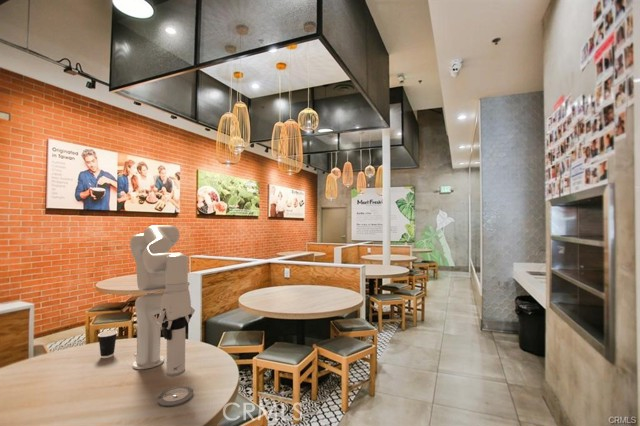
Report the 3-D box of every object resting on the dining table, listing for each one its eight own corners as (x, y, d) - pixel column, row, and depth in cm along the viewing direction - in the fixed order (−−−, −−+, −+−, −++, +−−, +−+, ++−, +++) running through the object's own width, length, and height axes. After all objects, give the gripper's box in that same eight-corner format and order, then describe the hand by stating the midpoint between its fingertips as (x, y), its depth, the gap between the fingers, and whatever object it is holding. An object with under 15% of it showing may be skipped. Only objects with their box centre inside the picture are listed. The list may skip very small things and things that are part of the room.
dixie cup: (93, 360, 146) (94, 336, 147) (102, 353, 154) (102, 331, 155) (112, 358, 148) (112, 335, 148) (120, 352, 156) (120, 330, 156)
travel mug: (178, 377, 111) (179, 321, 111) (162, 376, 112) (163, 320, 113) (189, 369, 117) (189, 316, 118) (173, 368, 118) (174, 315, 119)
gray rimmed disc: (150, 401, 112) (150, 398, 112) (178, 385, 122) (179, 383, 122) (172, 410, 106) (172, 407, 106) (200, 393, 117) (200, 390, 117)
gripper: (189, 282, 125) (189, 327, 124) (148, 291, 110) (147, 342, 109) (202, 284, 122) (202, 330, 121) (162, 293, 106) (161, 346, 105)
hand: (176, 335), depth 115 cm, fingers closed on travel mug, 6 cm apart
